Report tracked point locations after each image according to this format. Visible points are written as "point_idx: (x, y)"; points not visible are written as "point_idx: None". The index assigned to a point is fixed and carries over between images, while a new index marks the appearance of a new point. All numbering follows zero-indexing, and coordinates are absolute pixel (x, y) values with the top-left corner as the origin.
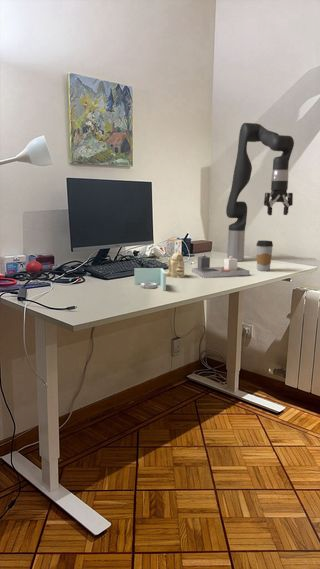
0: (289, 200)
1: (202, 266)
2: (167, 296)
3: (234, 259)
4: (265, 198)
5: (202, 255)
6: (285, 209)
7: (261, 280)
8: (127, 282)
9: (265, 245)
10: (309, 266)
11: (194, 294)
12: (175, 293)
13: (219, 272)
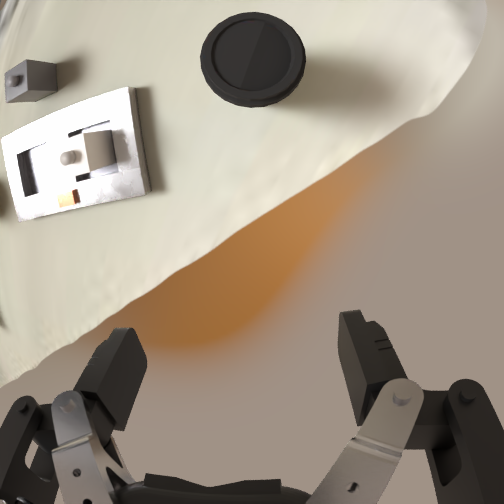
0: (485, 453)
1: (28, 100)
2: (5, 348)
3: (79, 174)
4: (1, 477)
5: (8, 83)
6: (352, 387)
7: (166, 271)
8: None
9: (235, 102)
10: (466, 64)
11: (31, 352)
12: (8, 337)
13: (52, 213)
